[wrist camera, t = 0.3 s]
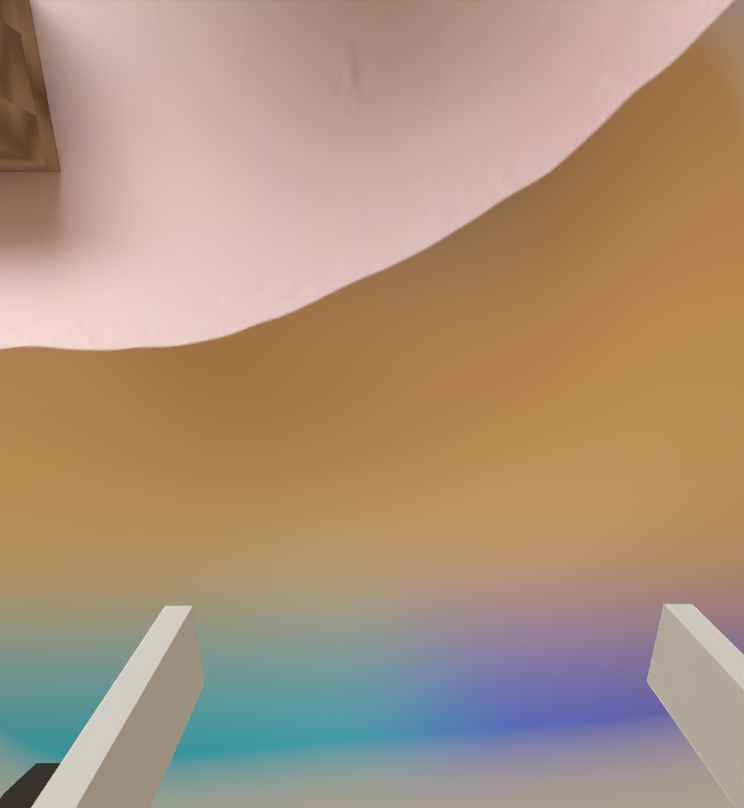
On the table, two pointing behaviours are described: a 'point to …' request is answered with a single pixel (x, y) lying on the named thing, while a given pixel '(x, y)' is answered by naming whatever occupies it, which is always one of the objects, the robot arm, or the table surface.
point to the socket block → (23, 95)
